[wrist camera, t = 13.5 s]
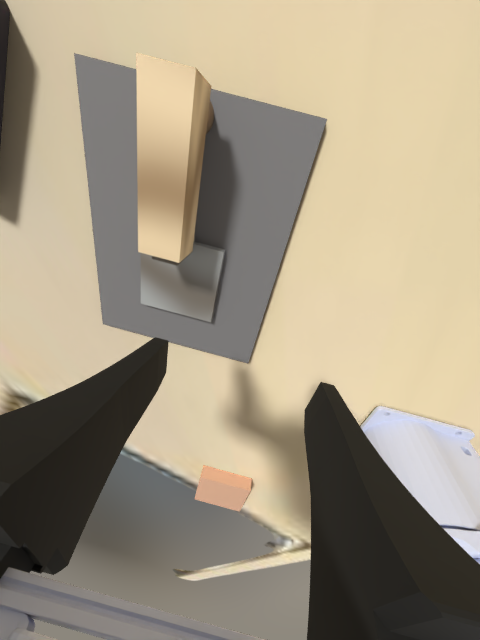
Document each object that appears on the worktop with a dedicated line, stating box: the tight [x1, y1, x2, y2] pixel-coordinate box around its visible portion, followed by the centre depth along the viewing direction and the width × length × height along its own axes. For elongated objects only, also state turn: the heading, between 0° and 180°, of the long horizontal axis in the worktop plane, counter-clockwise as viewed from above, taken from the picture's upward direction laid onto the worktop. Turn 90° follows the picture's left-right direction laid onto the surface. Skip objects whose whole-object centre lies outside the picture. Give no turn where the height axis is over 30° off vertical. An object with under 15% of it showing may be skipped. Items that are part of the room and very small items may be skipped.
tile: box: [195, 465, 252, 511], centre depth 36 cm, size 7×2×7 cm
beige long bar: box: [136, 53, 225, 322], centre depth 15 cm, size 14×6×4 cm, turn 167°
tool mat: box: [74, 53, 327, 363], centre depth 18 cm, size 14×18×1 cm
